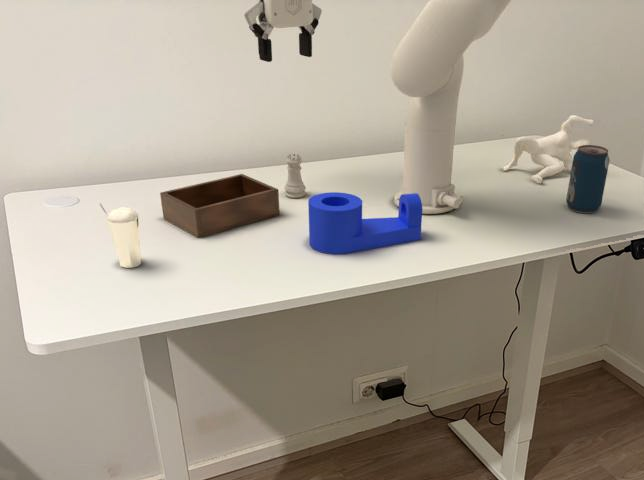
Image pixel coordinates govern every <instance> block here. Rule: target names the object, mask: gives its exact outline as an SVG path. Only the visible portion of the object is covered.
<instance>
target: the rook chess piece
mask: <svg viewBox="0 0 644 480" xmlns="http://www.w3.org/2000/svg"><path fill="white" fill-rule="evenodd" d="M285 162H286V163H287V167H286V169H287V180H286V182H285V185H284V188H283V189H284V191H283V194H284V196H286V197H287V198H289V199H299V198H300V199H301V198H303V197H306V195H307V191H306V189H307V188H306V185H305V184H304V182H303V179H302V174H301V170H302V167H301V163H302V162H303V159H302V158H301V154H298V153H297V154H296V153H292V154H291V153H289V154H287V155H286V158H285Z"/></svg>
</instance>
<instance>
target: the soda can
mask: <svg viewBox="0 0 644 480" xmlns="http://www.w3.org/2000/svg"><path fill="white" fill-rule="evenodd" d="M572 158H573V163H572V169H571V171H570V175H569V181H568V185H567V186H568V187H567V193H566V199H565V200H566V201H565V202H566V204H567V207H568V209H570V210H571V211H573V212H575V213H578V214H594V213H596V212H597V211H598V210H599V208H600V207H601V206H602V203H603V197H604V192H605V186H606V181H607V177H608V170H609V166H610V156H609V149H607V148H606V147H604V146H600V145H594V144H590V145H582V146H579V147H578V150H576V152H575V153H574V154H573V156H572Z"/></svg>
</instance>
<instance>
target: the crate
mask: <svg viewBox="0 0 644 480" xmlns="http://www.w3.org/2000/svg"><path fill="white" fill-rule="evenodd" d="M279 194H280V193H279V188H277V187H274V186H271V185H269V184H267V183H264V182H262V181H260V180H257V179H256V178H253V177H250V176H248V175H246V174H244V173H239V174H236V175H230V176H227V177H221V178H218V179H214V180H209V181H205V182H200V183H196V184H191V185H188V186H183V187H179V188H174V189H170V190H165V191H160V193H159V195H160V203H161V209H162V216H163V217H162V218H163V220H165V221H167V222H169V223H170V224H171V225H174V226H175V227H177V228H179V229H181V230H183V231H184V232H186V233H189V234H190V235H192V236H194V237H196V238H197V239H198V238H203V237H206V236H210V235H212V234H217V233H220V232H224V231H227V230H230V229H234V228H238V227H241V226H245V225H249V224H253V223H255V222H259V221H263V220H266V219H267V220H268V219H270V218H273V217H277V216H280V215H281V214H280V195H279Z"/></svg>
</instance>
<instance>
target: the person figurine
mask: <svg viewBox="0 0 644 480" xmlns="http://www.w3.org/2000/svg"><path fill="white" fill-rule="evenodd" d="M594 122H595V121H594V119H593V118H592V119H587V118H584V117H581V116H579V115H575V114H574V115H570V116H569V117H568V118H567V120H566V121H564V122H563V123H562V124H561V127H560V130H559V131H557V132H555V133H554V134H549V135H546V136H543V137H540V138H533V137H531V136H527V135H523V136H520V137H517V138H516V139H515V141H514V144H513V151H514V152H513V153H514V154H513V155H514V156H513V158H512V160H511V161H510V162H509V163H508V164H506V165H504V166H503V167H502V169H503V171H504V172H507V171H509V170H511V169H512V168H514V167H518V161H519V159H520V158H521V156H522V154H523V153H524V152H526V153H527V154H529V155H530V159H531V161H532V163H534V164H536V165H538V166H541V167H543V168H542V170H540V171H539V172H537V173H536V174H533V175H531V177H530V179H531V181H532V182H535V183H537V184H541V183H542V182H543V179H544V177H551V176H554V175H555V174H557V173H560V172H563V170H564V168H565V169H566V170H568V171H570V172H571V169H572V163H573V155H572V154H571V152H572V151H573V150H575V151H577V150H578V147H579V146H582V145H591V142H590V140H589V139H584V138H579V139H578V140H575V139H573V137H572V136H571V134H572V127H573V125H574V123H575V124H587V125H588V126H589V125H590V126H593V125H594Z"/></svg>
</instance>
